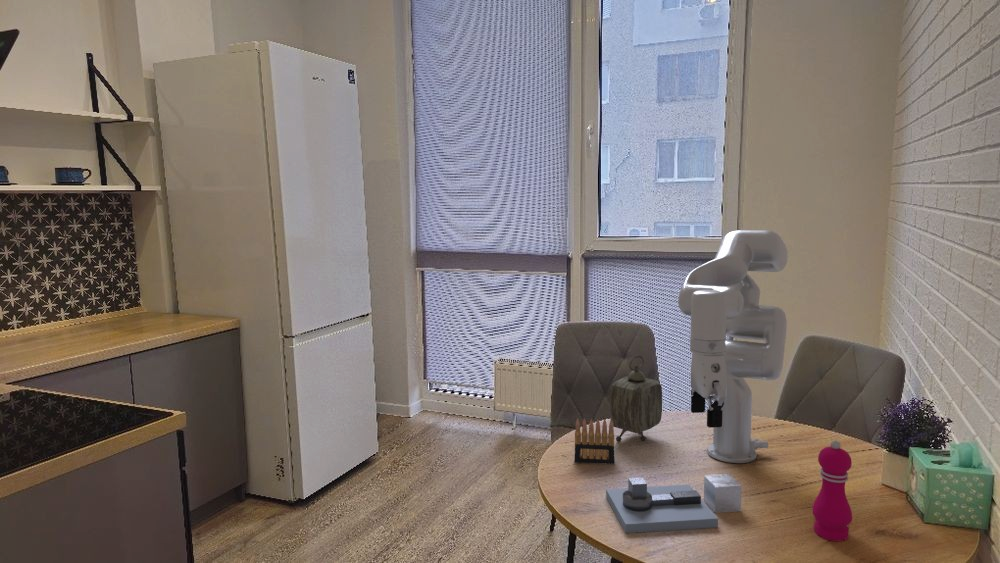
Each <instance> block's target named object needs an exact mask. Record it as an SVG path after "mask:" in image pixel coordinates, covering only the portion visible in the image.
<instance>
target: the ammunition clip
mask: <svg viewBox="0 0 1000 563" xmlns="http://www.w3.org/2000/svg"><path fill="white" fill-rule="evenodd" d="M579 419H580V418H578V417H577V419H576V422H575V429H574V457H573V459H574V460H573V461H574V463H579V464H580V463H581V464H597V465H599V464H601V465H615V464H616V462H615V458H616V457H615V433H614V432H615V431H614V428H615V427H613V421H612V420H610V419H609V420H610V421H609V424H607V421H606V419H603V422H602V426H601V423H600V420H599V418H597V419H596V422H595V428H594V421H593V418H590V420H589V424H588V423H587V421H586V418H583V419H582V420H583V421H582V426H581V423H580V420H579ZM587 424H588V426H587ZM581 427H582V429H581ZM601 427H602V430H601Z"/></svg>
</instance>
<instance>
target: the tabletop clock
mask: <svg viewBox="0 0 1000 563" xmlns="http://www.w3.org/2000/svg"><path fill="white" fill-rule="evenodd" d="M638 358H640V359H641V364H640V365H638V364H635V365H634V367H632V362H633V361H634V360H635V359H638ZM628 365H629V366H628V367H629V369H630V370H631V371H630V372H628V374H627V376H623V377H621V378H620V379H617V380H616V381H614V382H613V384H612V385H611V389H610V395H609V396H610V397H609V398H610V399H609V420H612V421H613V427H614V428H617V429H620V430H622V431H621V432H620V434H619V435H617V436H616V437H615V441H616V442H618V443H619V442H621V441H622V436H623V435H624V434H625V433H626V432H631V433H634V434H638V433H639V434H640V438H639V439H640V441H641V442H644V441H646V439H647V438H646V436H645V435H644V432H646V431H647V430H651V429H652V428H654V427H656V426H657V425H659V424H660V422H661V420H662V414H663V387H662V385H661V383H660V382H659V381H658V380H656V379H652V378H647V377H646V376H645V373H643V372H642V371H641V370H640V369H641V368H642V367H643V365H644V357H643V355H640V354H639V355H638V354H637V355H634V356H633V357H632V358H631V359H630V361H629V364H628Z"/></svg>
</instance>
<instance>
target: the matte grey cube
mask: <svg viewBox="0 0 1000 563" xmlns="http://www.w3.org/2000/svg"><path fill="white" fill-rule="evenodd" d="M742 488H743V487H742V484H740V482H738V480H736V479H735V478H734V477H733V476H732V475H731V474H730V473H722V474H721V473H720V474H706V475H703V502H704V503H705V504H706V505H707V506H708V507H709V509H710V510H711V511H712V512H713V513H714V514H715V513H716V514H718V513H732V512H741V511H742Z"/></svg>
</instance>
